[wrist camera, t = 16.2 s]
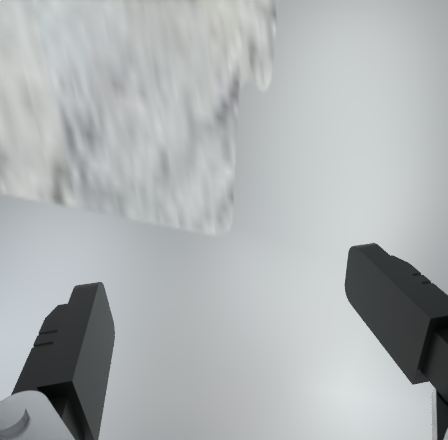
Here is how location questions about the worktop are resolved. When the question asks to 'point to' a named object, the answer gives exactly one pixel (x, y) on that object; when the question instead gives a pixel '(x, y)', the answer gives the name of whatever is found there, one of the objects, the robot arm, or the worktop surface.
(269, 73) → the worktop surface
